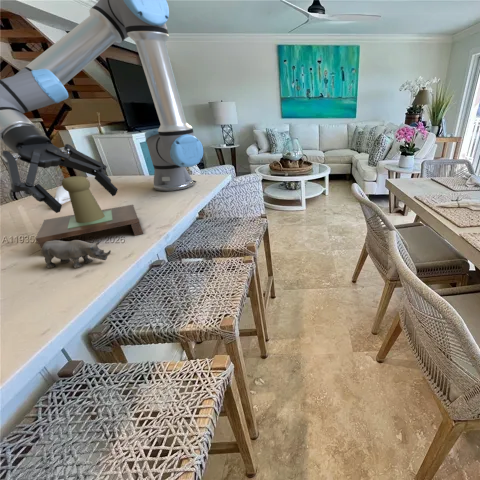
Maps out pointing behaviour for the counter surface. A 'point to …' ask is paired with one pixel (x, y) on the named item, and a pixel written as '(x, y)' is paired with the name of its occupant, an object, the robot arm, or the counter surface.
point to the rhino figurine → (72, 252)
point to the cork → (82, 199)
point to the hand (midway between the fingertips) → (89, 200)
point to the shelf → (88, 224)
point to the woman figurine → (62, 195)
